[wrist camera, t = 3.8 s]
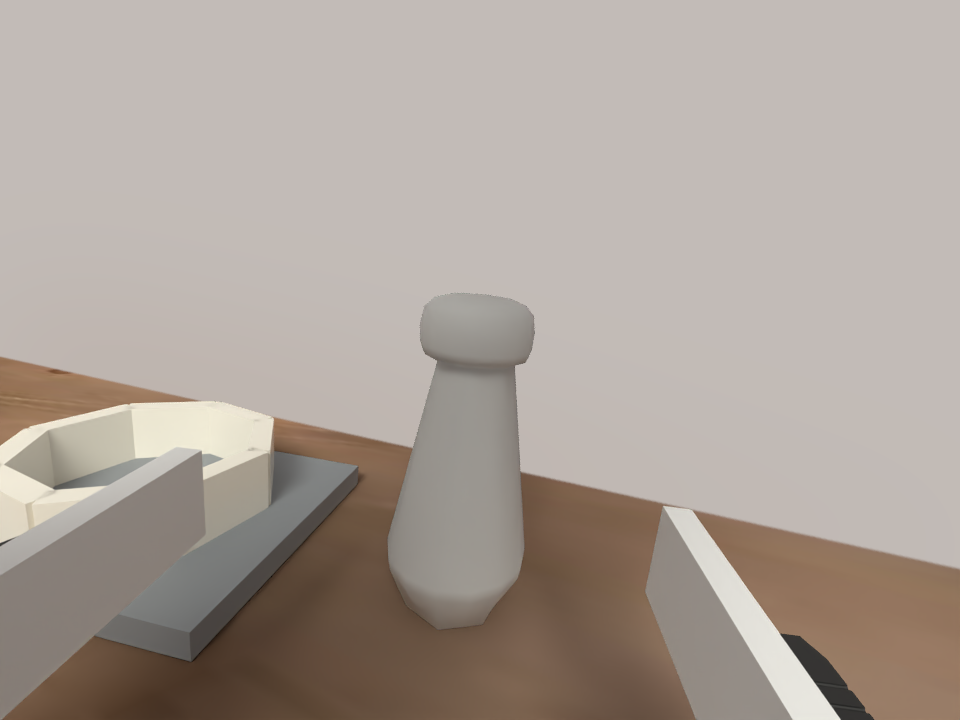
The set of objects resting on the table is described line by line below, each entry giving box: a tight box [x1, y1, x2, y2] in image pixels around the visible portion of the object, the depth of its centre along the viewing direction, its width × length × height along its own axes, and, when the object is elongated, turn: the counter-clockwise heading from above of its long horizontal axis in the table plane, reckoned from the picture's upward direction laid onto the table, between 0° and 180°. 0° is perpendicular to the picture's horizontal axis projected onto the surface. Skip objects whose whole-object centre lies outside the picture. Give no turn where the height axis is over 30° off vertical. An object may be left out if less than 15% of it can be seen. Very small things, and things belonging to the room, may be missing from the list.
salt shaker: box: [388, 293, 535, 630], centre depth 18 cm, size 6×6×13 cm
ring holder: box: [0, 401, 274, 555], centre depth 22 cm, size 11×11×3 cm
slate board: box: [53, 451, 358, 662], centre depth 23 cm, size 16×13×1 cm
